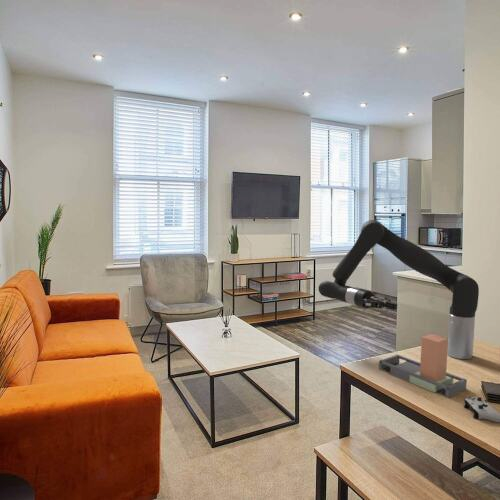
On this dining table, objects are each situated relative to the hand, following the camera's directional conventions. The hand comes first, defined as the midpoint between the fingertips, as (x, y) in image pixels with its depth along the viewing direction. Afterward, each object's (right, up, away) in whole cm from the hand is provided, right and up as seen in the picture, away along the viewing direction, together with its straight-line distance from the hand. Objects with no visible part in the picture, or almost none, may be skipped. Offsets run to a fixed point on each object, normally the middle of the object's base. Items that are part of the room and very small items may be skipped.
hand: (396, 307), depth 149 cm
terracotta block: (+9, -23, -11) cm, 27 cm away
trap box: (+6, -25, -7) cm, 26 cm away
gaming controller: (+15, -28, -30) cm, 43 cm away
